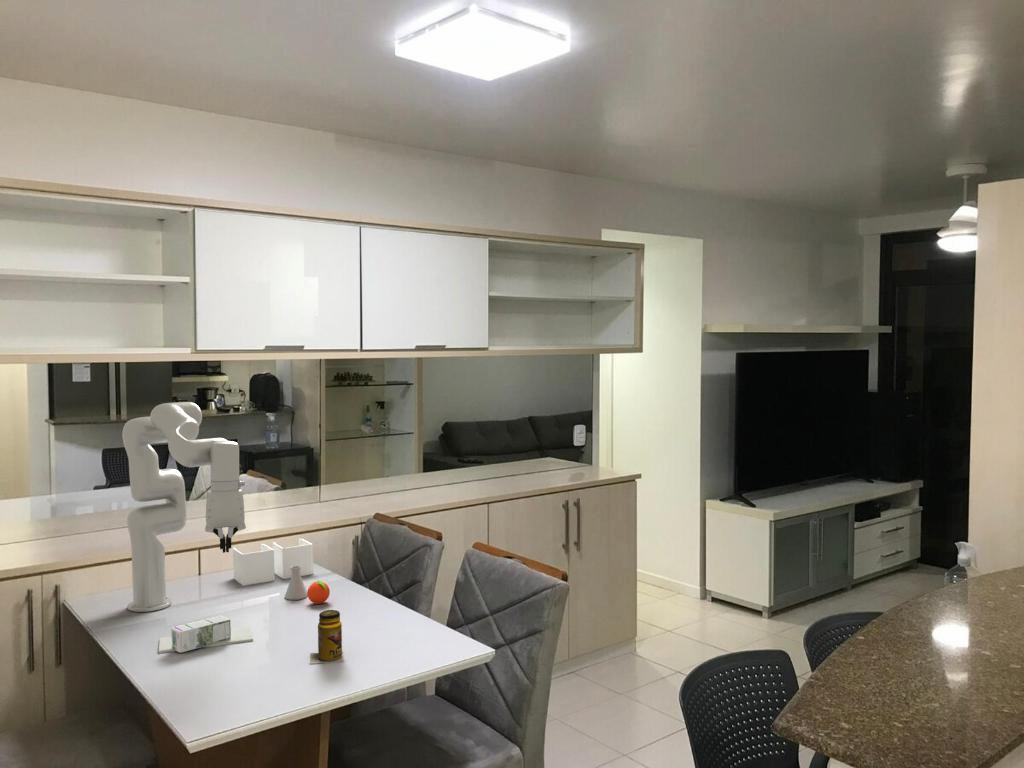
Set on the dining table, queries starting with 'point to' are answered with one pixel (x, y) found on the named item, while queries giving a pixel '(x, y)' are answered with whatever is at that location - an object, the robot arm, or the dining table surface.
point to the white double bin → (272, 562)
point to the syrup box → (200, 633)
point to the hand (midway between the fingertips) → (225, 551)
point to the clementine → (318, 592)
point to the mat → (236, 637)
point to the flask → (296, 585)
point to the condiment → (328, 638)
